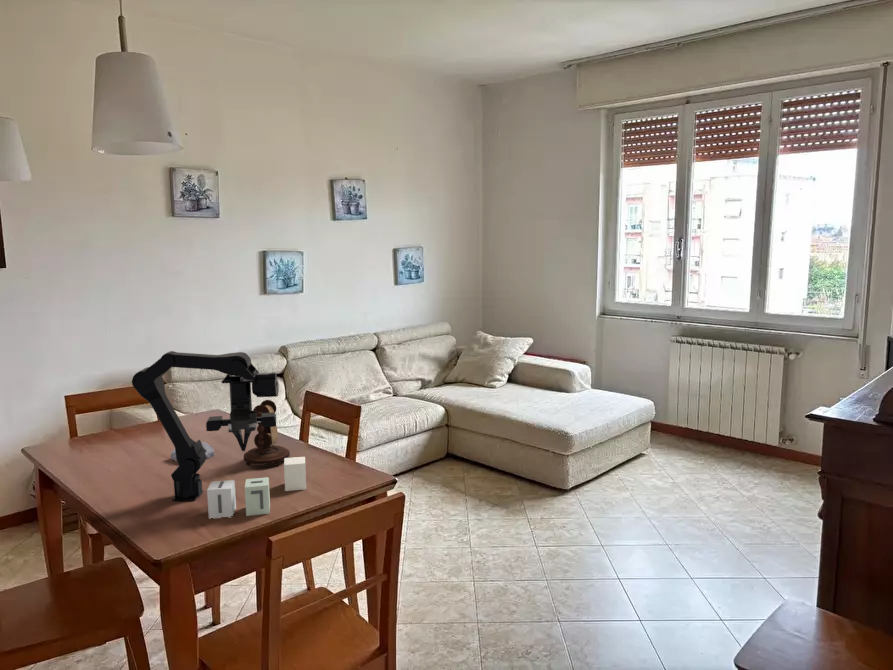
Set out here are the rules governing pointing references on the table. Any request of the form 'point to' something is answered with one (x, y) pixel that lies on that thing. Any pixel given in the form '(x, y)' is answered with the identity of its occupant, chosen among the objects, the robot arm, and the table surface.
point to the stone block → (207, 447)
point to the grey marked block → (221, 499)
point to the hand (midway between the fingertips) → (243, 450)
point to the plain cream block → (295, 473)
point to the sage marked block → (257, 496)
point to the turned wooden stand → (266, 440)
